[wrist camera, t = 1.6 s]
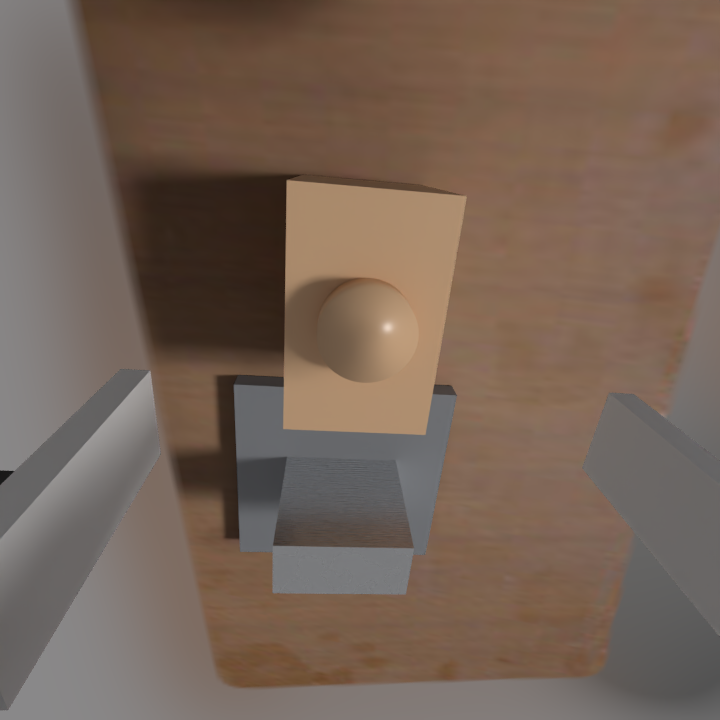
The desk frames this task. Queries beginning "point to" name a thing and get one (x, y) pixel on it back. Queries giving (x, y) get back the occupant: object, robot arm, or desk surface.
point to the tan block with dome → (365, 302)
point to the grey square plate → (335, 494)
